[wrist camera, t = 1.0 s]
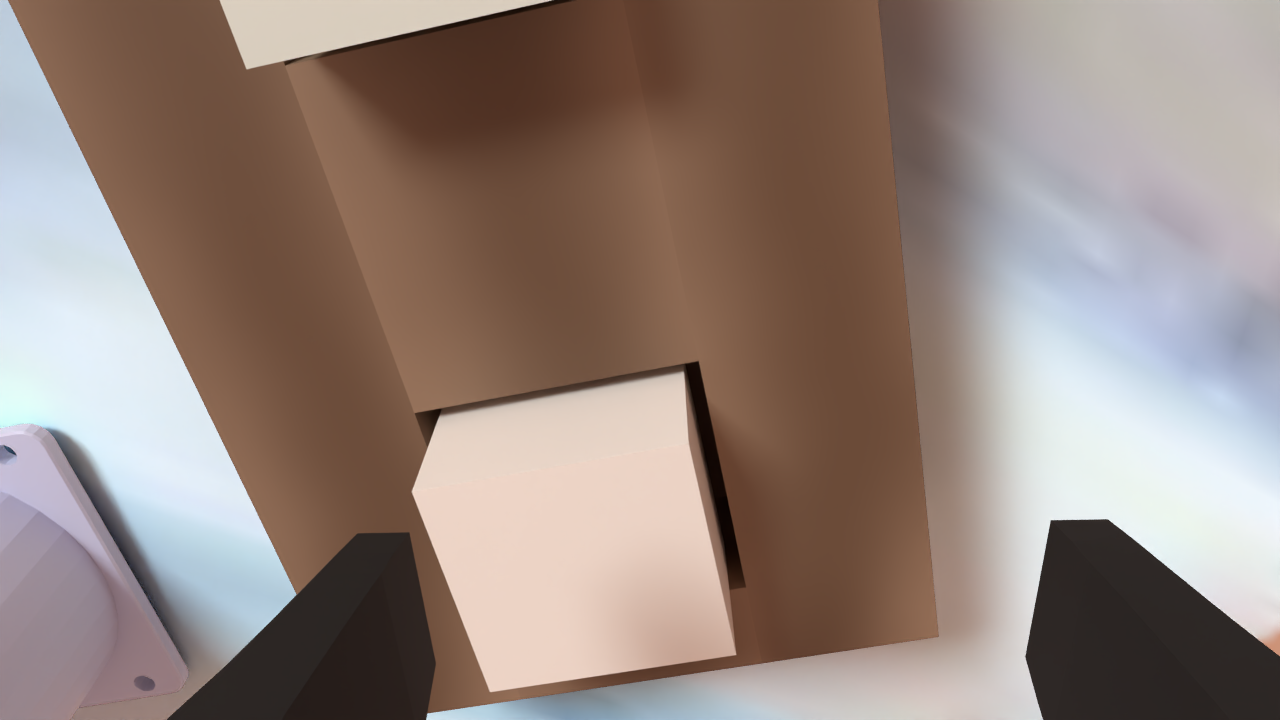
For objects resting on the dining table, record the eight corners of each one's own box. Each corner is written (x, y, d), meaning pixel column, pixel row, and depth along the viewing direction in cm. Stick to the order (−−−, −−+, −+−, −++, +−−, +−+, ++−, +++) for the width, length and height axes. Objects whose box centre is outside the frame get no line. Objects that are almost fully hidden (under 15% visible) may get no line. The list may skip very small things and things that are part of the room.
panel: (401, 594, 24) (359, 723, 21) (-17, -399, 15) (-222, -473, 11) (893, 513, 23) (938, 636, 19) (763, -623, 14) (803, -783, 10)
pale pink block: (511, 579, 20) (489, 692, 17) (446, 396, 18) (412, 491, 15) (724, 544, 20) (736, 655, 17) (682, 352, 18) (688, 443, 15)
